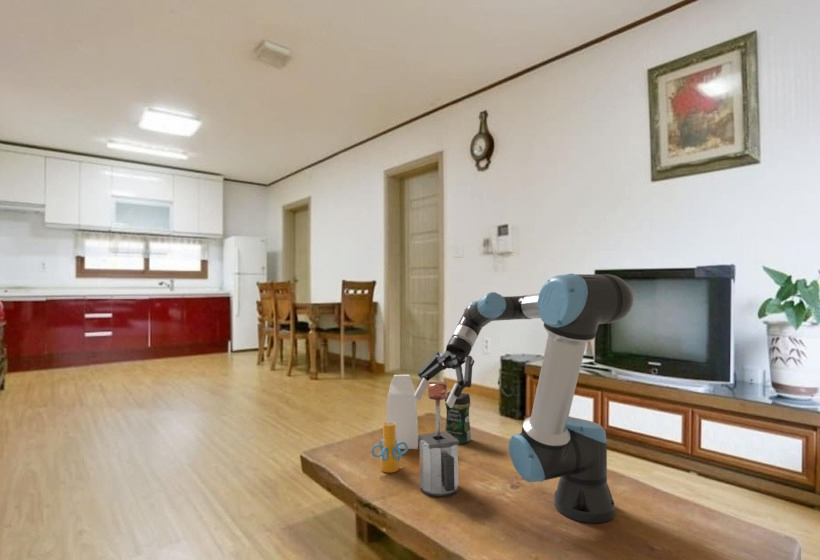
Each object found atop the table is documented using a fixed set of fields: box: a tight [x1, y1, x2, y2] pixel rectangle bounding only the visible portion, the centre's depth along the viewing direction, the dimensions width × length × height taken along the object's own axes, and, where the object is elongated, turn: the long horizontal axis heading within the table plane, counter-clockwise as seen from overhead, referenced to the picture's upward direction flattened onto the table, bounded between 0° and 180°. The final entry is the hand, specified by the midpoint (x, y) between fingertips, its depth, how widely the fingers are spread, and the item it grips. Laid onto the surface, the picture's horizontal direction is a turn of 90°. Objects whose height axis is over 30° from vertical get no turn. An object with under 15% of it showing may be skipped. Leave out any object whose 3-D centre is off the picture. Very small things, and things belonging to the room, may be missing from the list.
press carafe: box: [418, 430, 460, 499], centre depth 127 cm, size 14×11×15 cm
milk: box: [385, 374, 419, 450], centre depth 166 cm, size 12×12×26 cm
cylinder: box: [370, 421, 409, 474], centre depth 143 cm, size 12×10×15 cm
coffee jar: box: [444, 390, 472, 445], centre depth 168 cm, size 10×8×19 cm
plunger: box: [427, 381, 448, 440], centre depth 129 cm, size 6×6×22 cm
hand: (432, 401), depth 127 cm, fingers open, 11 cm apart
